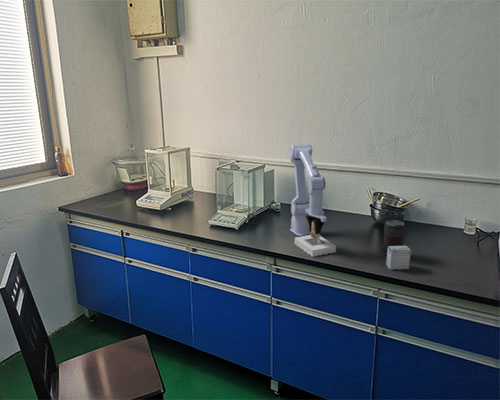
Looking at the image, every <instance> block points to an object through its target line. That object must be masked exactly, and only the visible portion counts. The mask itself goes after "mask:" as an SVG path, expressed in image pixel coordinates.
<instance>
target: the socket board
mask: <svg viewBox="0 0 500 400" xmlns="http://www.w3.org/2000/svg"><path fill="white" fill-rule="evenodd" d="M294 245H295V246H297V247H298V248H300V249H301V250H302V249H303V250H302V251H304V252H305V253H306V252H307V253H306V254H308V255H309V254H310V255H311V257H312V258H314V257H318V255H319V256H322V255H323V254H324V255H328V253H329V254H332V253H336V252H337V246H336V244H334V243H332V242H330V241H329V240H328V239H325V238H324V237H323V236H322V235H320V238H313V237H311V234H308V235H302V236H297V237H294ZM313 256H314V257H313Z"/></svg>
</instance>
